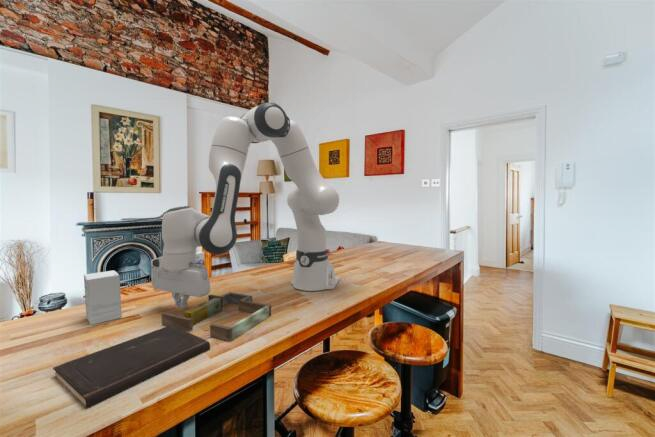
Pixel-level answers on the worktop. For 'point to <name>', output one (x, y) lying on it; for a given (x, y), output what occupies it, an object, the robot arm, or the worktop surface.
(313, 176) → the robot arm
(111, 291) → the supplement box
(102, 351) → the hardcover book
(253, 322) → the trap corral
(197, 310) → the medication box
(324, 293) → the worktop surface
